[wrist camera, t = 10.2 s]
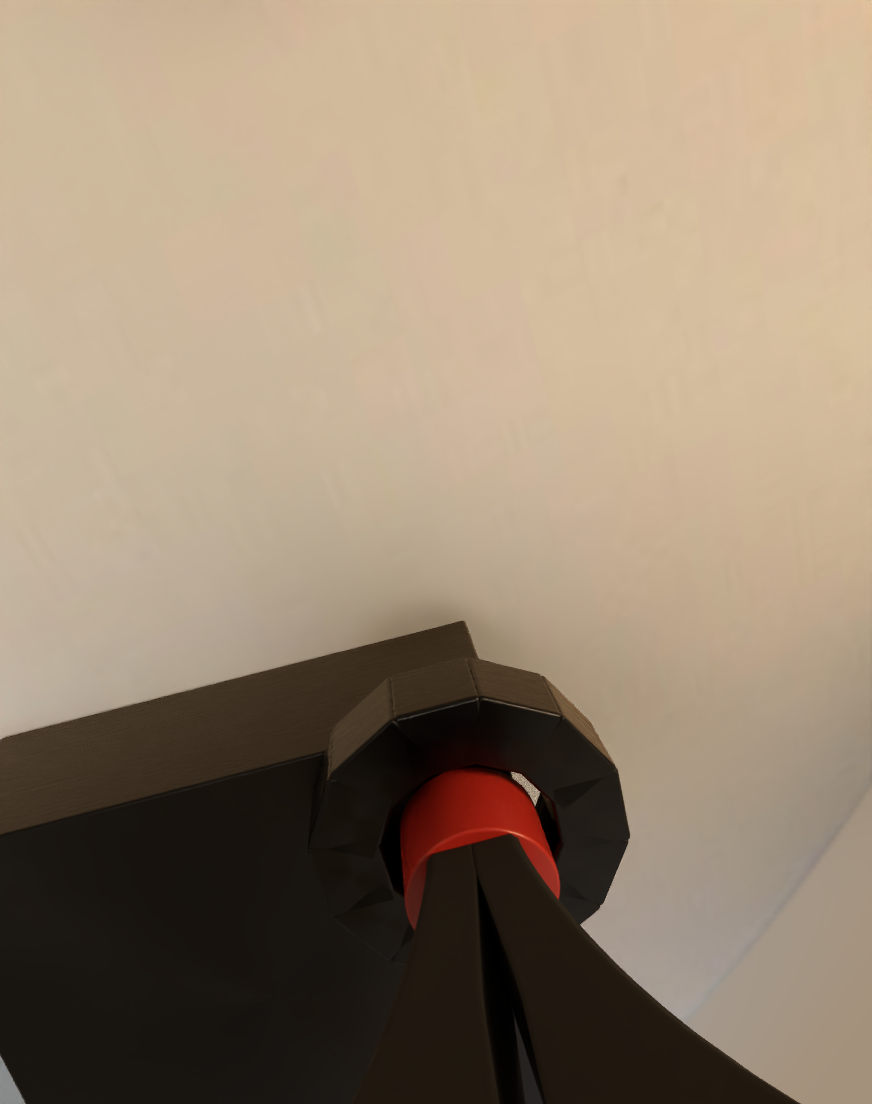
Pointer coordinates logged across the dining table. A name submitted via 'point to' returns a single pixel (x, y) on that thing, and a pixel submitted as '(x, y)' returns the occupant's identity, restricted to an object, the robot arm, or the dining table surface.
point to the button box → (259, 868)
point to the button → (468, 825)
